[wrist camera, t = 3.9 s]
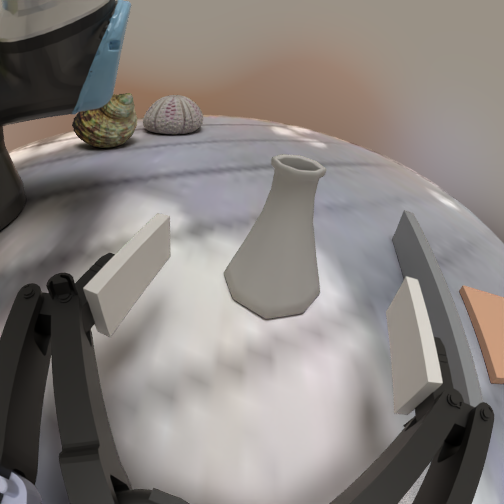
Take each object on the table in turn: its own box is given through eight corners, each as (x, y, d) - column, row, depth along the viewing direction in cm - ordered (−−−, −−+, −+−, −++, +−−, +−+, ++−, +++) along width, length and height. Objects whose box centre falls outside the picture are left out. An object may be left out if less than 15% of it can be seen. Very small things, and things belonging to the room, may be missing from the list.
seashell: (113, 134, 54) (113, 89, 48) (146, 143, 50) (148, 91, 44) (70, 147, 46) (68, 97, 40) (99, 157, 42) (97, 98, 36)
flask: (262, 335, 19) (297, 194, 13) (207, 272, 23) (217, 147, 18) (334, 298, 23) (377, 181, 17) (277, 249, 27) (300, 143, 22)
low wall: (445, 465, 11) (489, 439, 9) (431, 466, 11) (475, 440, 9) (400, 242, 32) (413, 213, 30) (392, 239, 32) (404, 210, 30)
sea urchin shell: (186, 140, 53) (189, 100, 49) (129, 134, 55) (130, 97, 50) (211, 128, 64) (214, 95, 59) (160, 122, 66) (162, 91, 61)
